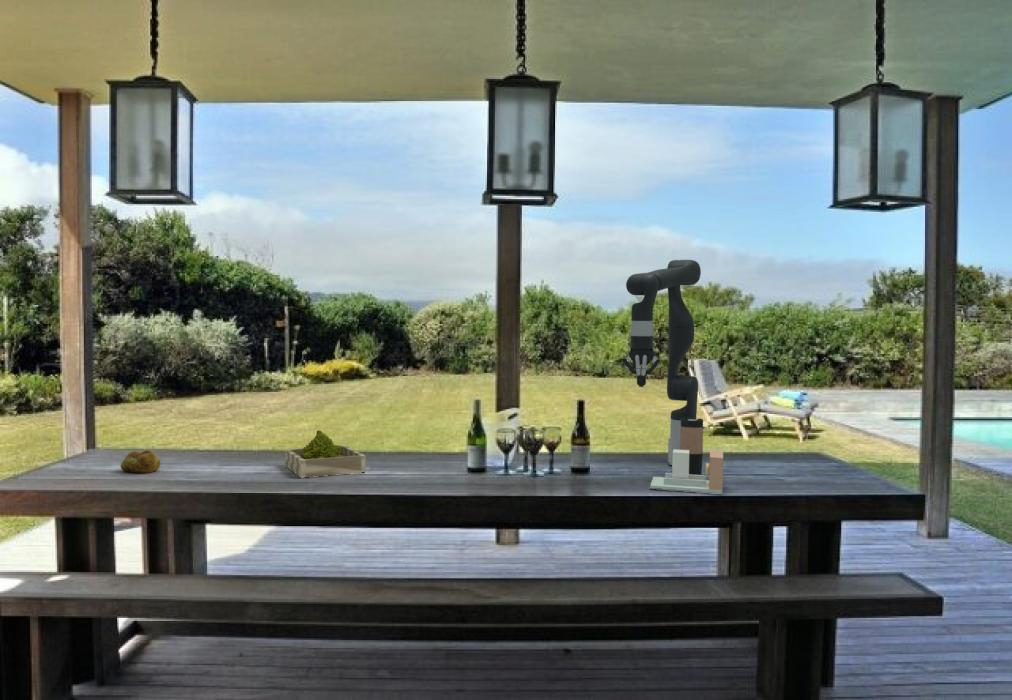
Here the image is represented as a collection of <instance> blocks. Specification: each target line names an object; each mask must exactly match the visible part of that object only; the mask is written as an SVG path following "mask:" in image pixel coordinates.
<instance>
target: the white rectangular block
mask: <svg viewBox="0 0 1012 700" xmlns="http://www.w3.org/2000/svg"><path fill="white" fill-rule="evenodd" d="M671 468H672V469H671V473H672V478H676V479H689V450H677V449H674V450H673V459H672V466H671Z"/></svg>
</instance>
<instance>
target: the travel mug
mask: <svg viewBox="0 0 1012 700" xmlns="http://www.w3.org/2000/svg"><path fill="white" fill-rule="evenodd" d="M703 445H704V419H703V418H696V420H694V419H692V418H681V428H680V450H689V474H690V475H703V474H702V473H703V472H702V471H703V470H702V469H703V454H704V452H703V451H704V446H703Z"/></svg>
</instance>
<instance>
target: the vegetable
mask: <svg viewBox="0 0 1012 700" xmlns="http://www.w3.org/2000/svg"><path fill="white" fill-rule="evenodd" d="M315 434H316V435H315V436H314V437H313V439H312V440H310V442H308V444H305V446H304V447H302V448H303V451H304V453H303V454H300V456H301V457H302V458H303V459H304V460H305V459H318V458H331V457H343V455H339V453H340V449H341V446H342V445H337V444H335V443H333V440H332V438H330V437H329V436H328V435H326V433H324V432H323V431H322V430H320V429H319V430H316V432H315Z"/></svg>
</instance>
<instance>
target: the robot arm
mask: <svg viewBox="0 0 1012 700" xmlns="http://www.w3.org/2000/svg"><path fill="white" fill-rule="evenodd" d="M701 271H702V270H701V265H700V263H698V261H696V260H693V259H673V260H670V261H669V262H668V265H667V267H666V268H660V269H656V270H652V271H649V272H641V273H633V274H632V275H630V276H629V277H628V278H627V280H626V283H625V288H626V290H627V292H628V293H629V294H630V295H632V296H643V299H641V300H642V301H639V302H635V303H633V304H632V305H631V311H630V312H631V314H630V315H631V317H630V319H631V322H630V331H629V334H630V343H629V348H630V350H629V352H628V355H627V356H626V357H624V358H622V362H623V363H624V365H625V366H626V368H628V370H629V371H630V373H631V374H634V375H636V384H637V386H638V388H644V387H645V385H646V384H647V375H650V374H651V373H652V372H654V370H655V369H656V368H657V366H658V365H659V364H660V363H661V362H662V361H661V359H660V358H658V357H657V356H656V353H655V352H654V321H653V320H654V307H655V306H654V305H655V302H656V298H657V295H658V292H659V291H660V292H661V291H663V290H665V289H667V298H668V329H667V332H668V335H667V336H668V339H667V340H668V365H667V380H666V394H667V397H668V399H669V400H670V401H678V402H679V401H681V402H682V401H684V402H686V403H685V405H684V406H683V407H681V408H677V409H674V410H671V412H670V424H669V425H670V426H669V427H670V430H669V431H670V432H669V433H670V435H669V438H668V441H667V443H668V444H667V446H668V448H667V463H668V462H670V463H671V464H672V459H673V450H674V449H677V450H680V428H681V418H692V419H694V420H697V414H698V413H697V409H698V397H699V394H698V393H699V380H698V378H697V377H696V376H694V375H679V368H680V365H681V363H682V361H683V359H684V357H685V356H686V354H687V353H688V351H689V350H690V348H691V346H692V345H693V343H694V341H695V321H694V319H693V316H692V314H691V312H690V311H689V309H688V308H687V306H686V303H685V302H684V300H683V297H682V290H681V286H694V285H696V284H697V283H699V280H700V278H701V275H702V274H701V273H702V272H701ZM631 362H632V363H633V364H634V365H635V367H634V366H633V364H631ZM651 362H652V363H653V364H652V365H651V366H650V368H649V369H648V370H647V368H648V365H649V364H650V363H651Z"/></svg>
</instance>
